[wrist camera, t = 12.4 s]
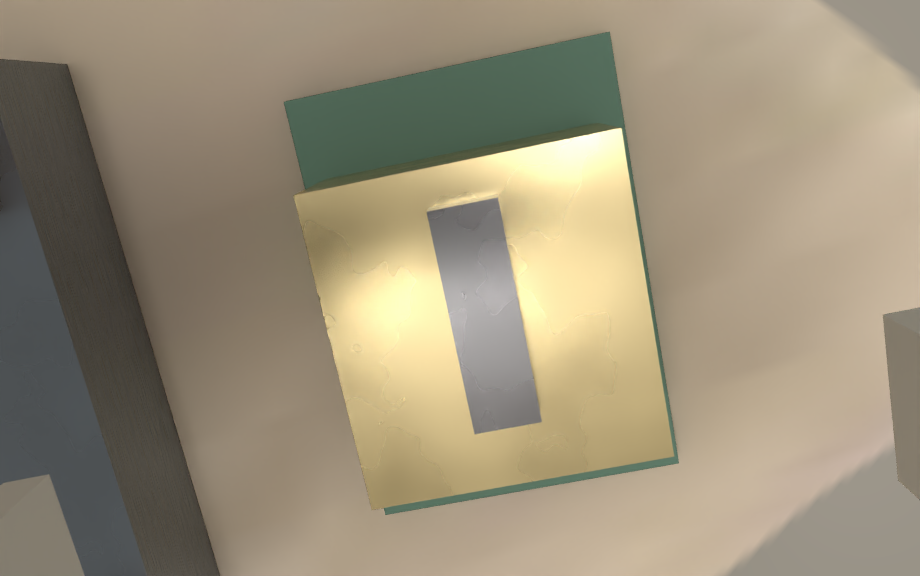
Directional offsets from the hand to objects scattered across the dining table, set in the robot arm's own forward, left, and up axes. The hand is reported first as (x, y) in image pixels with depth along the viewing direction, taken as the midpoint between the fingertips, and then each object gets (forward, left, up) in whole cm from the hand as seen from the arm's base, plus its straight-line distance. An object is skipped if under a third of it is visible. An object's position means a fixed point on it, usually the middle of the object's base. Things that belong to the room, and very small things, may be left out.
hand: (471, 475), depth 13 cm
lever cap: (0, 0, -14) cm, 14 cm away
